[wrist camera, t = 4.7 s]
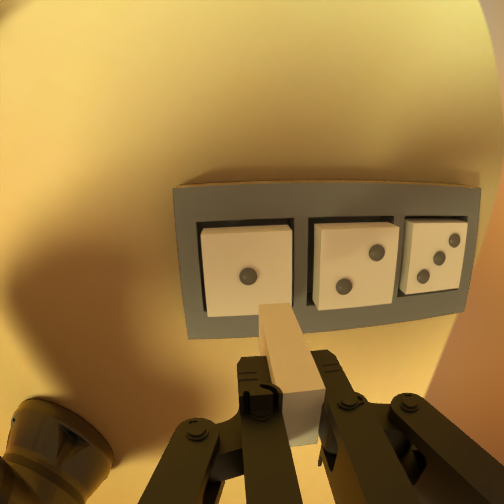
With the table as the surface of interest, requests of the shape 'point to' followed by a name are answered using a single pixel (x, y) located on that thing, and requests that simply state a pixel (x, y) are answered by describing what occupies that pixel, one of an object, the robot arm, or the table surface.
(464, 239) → the key three
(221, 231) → the key one
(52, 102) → the table surface
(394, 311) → the keypad
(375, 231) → the key two
